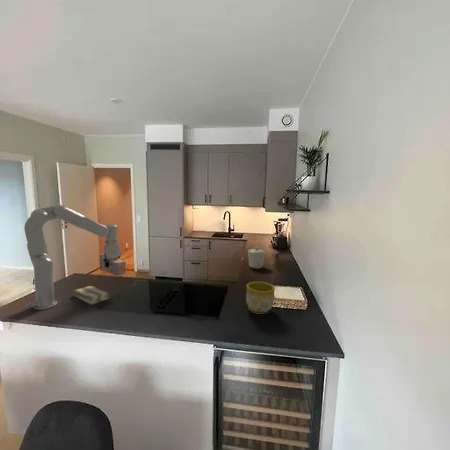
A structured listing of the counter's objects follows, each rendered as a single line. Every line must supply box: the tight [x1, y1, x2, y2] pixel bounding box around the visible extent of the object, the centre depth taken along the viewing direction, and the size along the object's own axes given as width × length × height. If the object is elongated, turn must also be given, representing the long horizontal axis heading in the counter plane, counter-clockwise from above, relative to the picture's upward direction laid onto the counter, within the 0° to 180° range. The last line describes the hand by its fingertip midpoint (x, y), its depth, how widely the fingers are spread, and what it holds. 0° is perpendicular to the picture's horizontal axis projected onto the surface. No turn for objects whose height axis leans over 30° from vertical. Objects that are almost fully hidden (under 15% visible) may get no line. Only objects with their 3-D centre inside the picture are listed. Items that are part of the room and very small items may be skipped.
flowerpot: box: [245, 281, 276, 315], centre depth 164 cm, size 18×18×16 cm
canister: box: [247, 246, 266, 270], centre depth 260 cm, size 18×18×21 cm
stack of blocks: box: [99, 253, 127, 277], centre depth 186 cm, size 21×6×12 cm, turn 59°
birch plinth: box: [73, 285, 110, 306], centre depth 176 cm, size 12×22×4 cm, turn 56°
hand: (111, 265), depth 187 cm, fingers closed on stack of blocks, 6 cm apart
